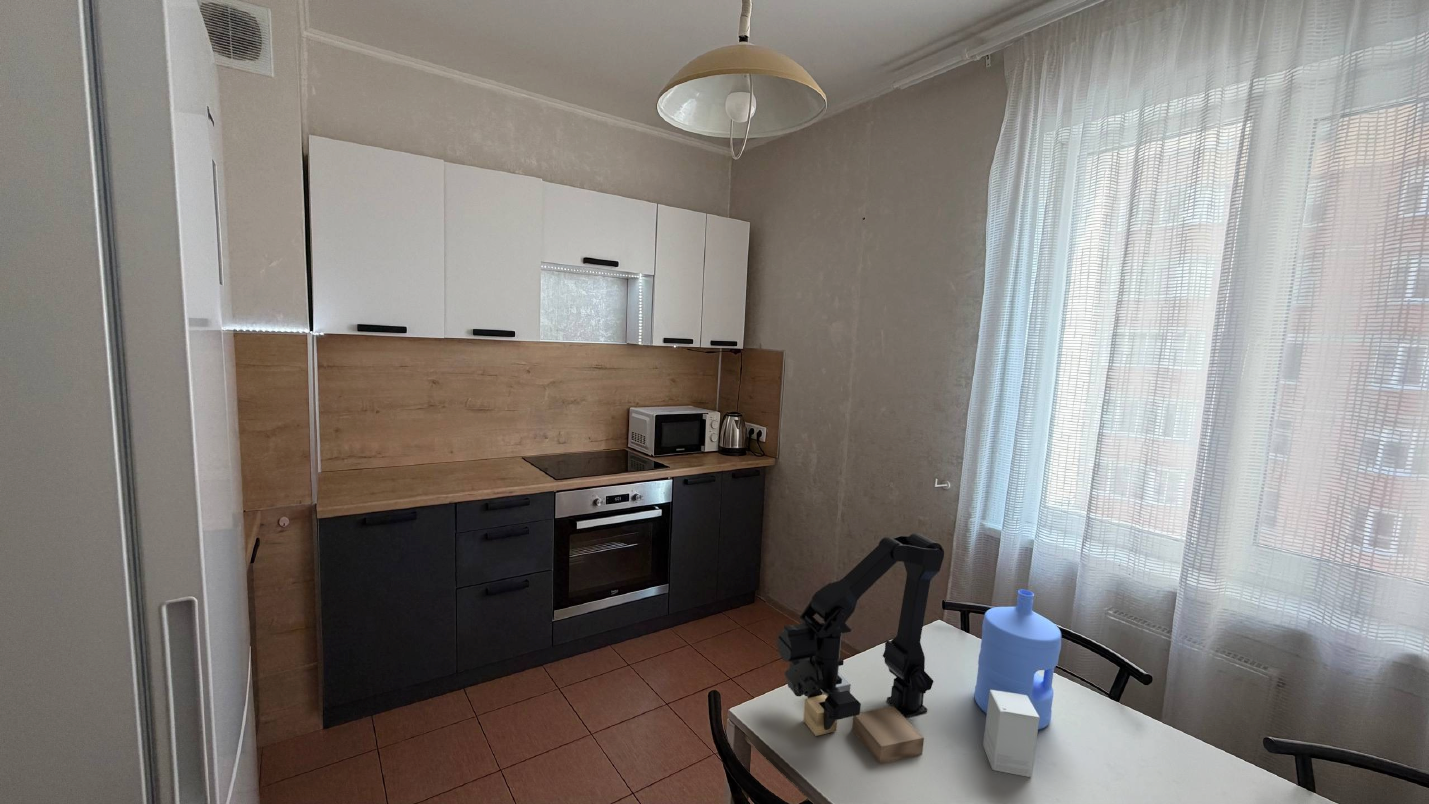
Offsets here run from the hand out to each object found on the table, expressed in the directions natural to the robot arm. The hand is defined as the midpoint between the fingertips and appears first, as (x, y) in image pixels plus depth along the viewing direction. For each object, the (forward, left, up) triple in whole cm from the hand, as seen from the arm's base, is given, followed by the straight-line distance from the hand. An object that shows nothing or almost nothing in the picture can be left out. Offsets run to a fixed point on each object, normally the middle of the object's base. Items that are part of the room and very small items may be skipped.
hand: (820, 720), depth 121 cm
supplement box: (-31, +20, -2) cm, 37 cm away
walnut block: (-11, +8, -2) cm, 14 cm away
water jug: (-46, +8, -2) cm, 47 cm away
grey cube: (-8, -7, -2) cm, 11 cm away
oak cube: (0, 0, -1) cm, 1 cm away
